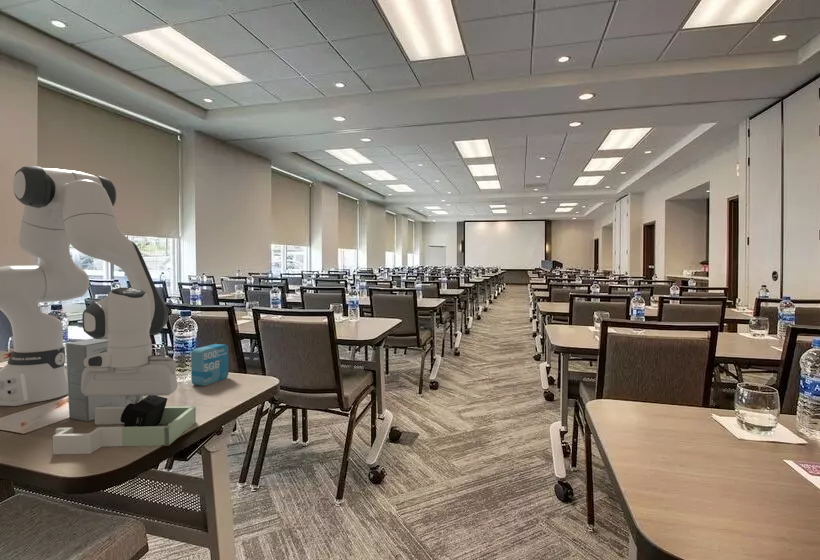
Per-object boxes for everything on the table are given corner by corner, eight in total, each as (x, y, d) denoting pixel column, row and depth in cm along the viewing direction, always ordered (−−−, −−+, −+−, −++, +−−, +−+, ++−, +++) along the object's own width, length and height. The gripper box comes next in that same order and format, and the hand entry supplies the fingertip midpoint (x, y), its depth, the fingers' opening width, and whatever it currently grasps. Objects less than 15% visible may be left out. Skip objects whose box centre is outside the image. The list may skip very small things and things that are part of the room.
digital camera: (137, 418, 107) (145, 392, 107) (159, 424, 108) (167, 397, 108) (114, 435, 97) (123, 406, 97) (139, 441, 98) (147, 412, 98)
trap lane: (43, 454, 90) (42, 436, 90) (106, 417, 111) (106, 402, 111) (161, 452, 92) (160, 434, 92) (201, 416, 113) (201, 401, 113)
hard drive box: (125, 400, 125) (124, 332, 124) (144, 403, 122) (143, 334, 121) (67, 418, 111) (65, 342, 110) (86, 422, 108) (84, 344, 107)
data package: (201, 387, 138) (201, 350, 138) (191, 385, 140) (190, 349, 139) (228, 377, 150) (228, 343, 149) (218, 376, 151) (218, 342, 150)
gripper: (181, 353, 106) (181, 407, 107) (93, 353, 104) (94, 408, 105) (169, 359, 100) (170, 417, 101) (75, 359, 98) (77, 418, 99)
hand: (131, 412), depth 103 cm, fingers closed, pressing on digital camera
